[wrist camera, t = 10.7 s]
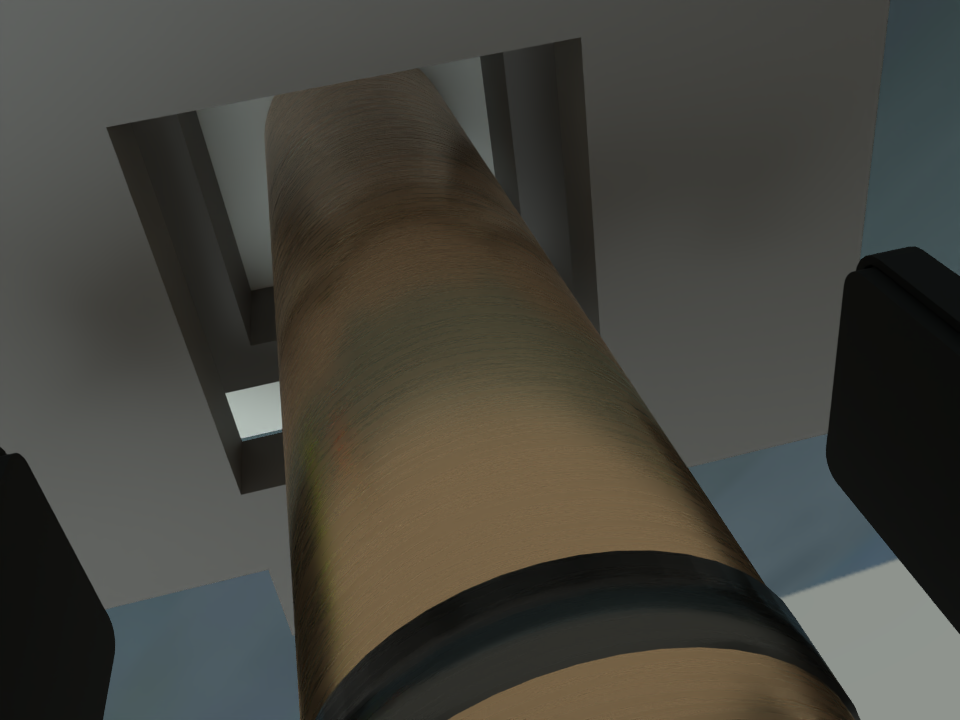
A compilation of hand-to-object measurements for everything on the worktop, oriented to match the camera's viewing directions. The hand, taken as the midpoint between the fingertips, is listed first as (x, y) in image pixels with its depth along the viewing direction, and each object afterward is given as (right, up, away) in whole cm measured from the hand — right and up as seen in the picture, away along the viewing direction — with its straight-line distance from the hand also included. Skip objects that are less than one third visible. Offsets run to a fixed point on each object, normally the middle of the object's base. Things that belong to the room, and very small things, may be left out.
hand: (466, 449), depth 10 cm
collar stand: (-3, +6, +10) cm, 12 cm away
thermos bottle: (-2, +6, +9) cm, 11 cm away
